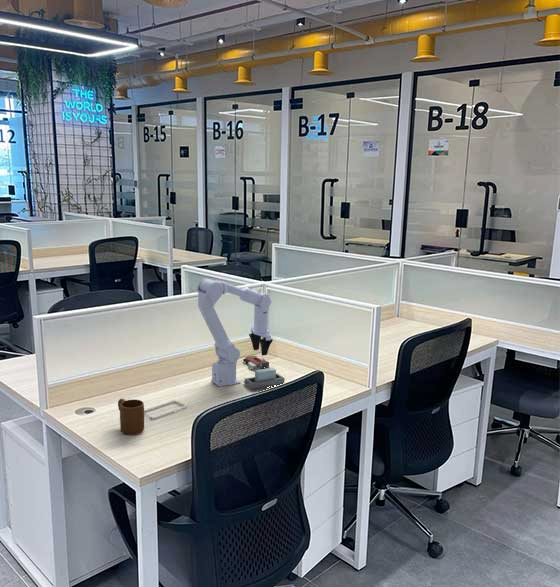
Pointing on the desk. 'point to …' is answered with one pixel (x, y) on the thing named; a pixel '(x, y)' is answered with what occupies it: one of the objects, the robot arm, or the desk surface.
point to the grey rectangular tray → (263, 383)
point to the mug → (131, 416)
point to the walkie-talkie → (256, 362)
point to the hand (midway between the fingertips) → (260, 352)
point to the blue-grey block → (265, 374)
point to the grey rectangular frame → (165, 405)
